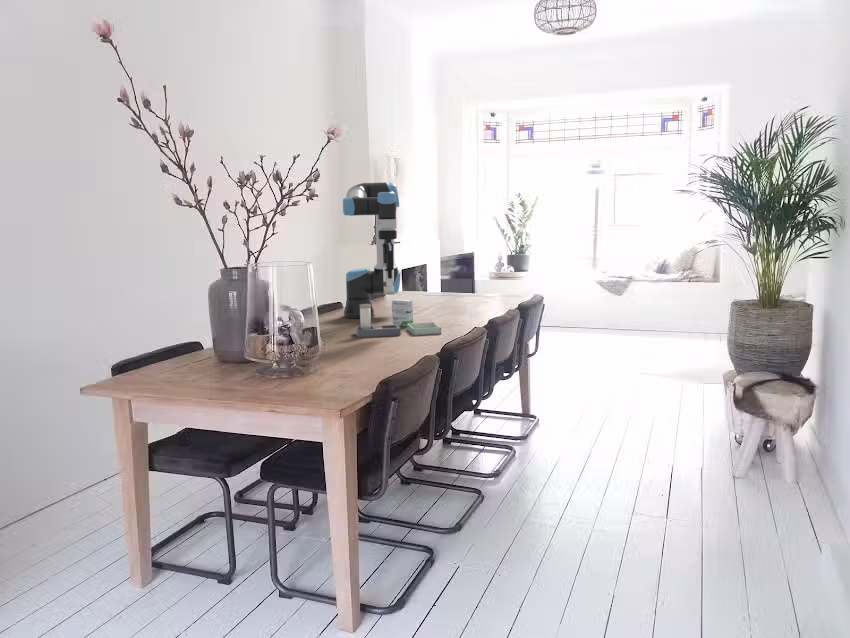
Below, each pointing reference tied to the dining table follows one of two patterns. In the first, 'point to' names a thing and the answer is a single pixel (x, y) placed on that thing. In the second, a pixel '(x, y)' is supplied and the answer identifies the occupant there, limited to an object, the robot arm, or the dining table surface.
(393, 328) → the board
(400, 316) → the ink box
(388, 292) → the fuse
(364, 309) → the fuse
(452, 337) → the dining table surface
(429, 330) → the parts tray
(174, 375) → the dining table surface
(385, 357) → the dining table surface
